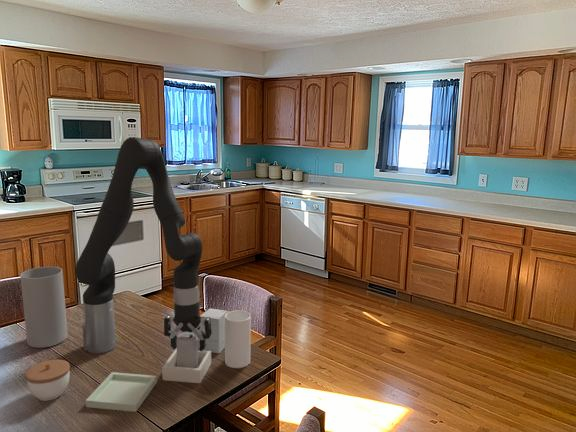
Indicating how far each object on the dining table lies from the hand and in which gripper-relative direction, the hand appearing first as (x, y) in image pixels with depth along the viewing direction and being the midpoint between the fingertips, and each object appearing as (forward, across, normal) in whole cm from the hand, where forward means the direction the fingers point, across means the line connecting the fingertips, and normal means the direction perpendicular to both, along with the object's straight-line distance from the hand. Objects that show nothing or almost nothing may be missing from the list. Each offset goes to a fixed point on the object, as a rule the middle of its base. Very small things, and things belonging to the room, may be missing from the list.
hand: (188, 349), depth 133 cm
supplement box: (+8, +4, +16) cm, 18 cm away
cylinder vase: (+7, -55, +12) cm, 57 cm away
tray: (+7, -14, -14) cm, 22 cm away
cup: (+8, +14, +8) cm, 18 cm away
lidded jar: (+7, -34, -17) cm, 39 cm away
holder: (+7, 0, 0) cm, 7 cm away
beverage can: (+8, 0, 0) cm, 8 cm away
